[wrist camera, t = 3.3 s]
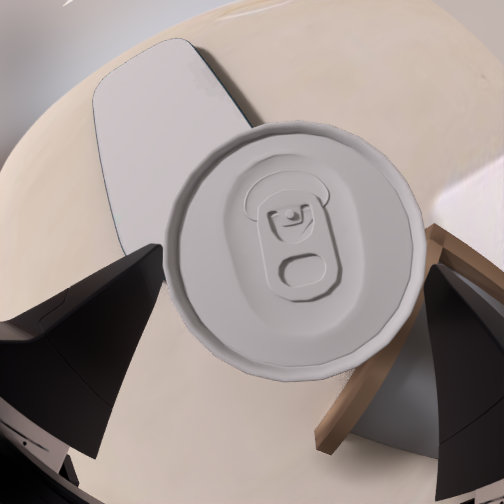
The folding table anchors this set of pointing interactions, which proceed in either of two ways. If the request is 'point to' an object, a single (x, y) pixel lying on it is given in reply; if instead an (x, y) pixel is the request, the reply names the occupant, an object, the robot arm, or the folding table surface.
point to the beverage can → (294, 251)
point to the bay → (407, 366)
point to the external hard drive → (158, 133)
